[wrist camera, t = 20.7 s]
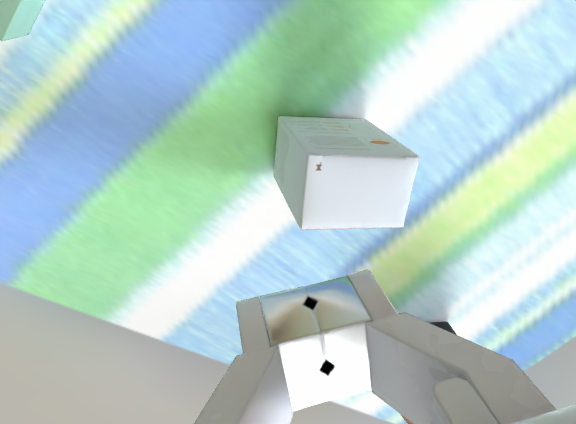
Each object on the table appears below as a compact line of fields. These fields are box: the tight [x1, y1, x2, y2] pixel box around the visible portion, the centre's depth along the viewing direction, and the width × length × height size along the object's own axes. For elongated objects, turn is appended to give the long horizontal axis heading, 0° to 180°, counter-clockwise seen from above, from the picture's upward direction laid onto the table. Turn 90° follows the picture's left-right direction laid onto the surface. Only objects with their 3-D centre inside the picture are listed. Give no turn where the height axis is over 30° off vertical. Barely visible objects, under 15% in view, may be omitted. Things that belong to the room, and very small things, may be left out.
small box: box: [274, 116, 419, 230], centre depth 35 cm, size 8×6×10 cm
